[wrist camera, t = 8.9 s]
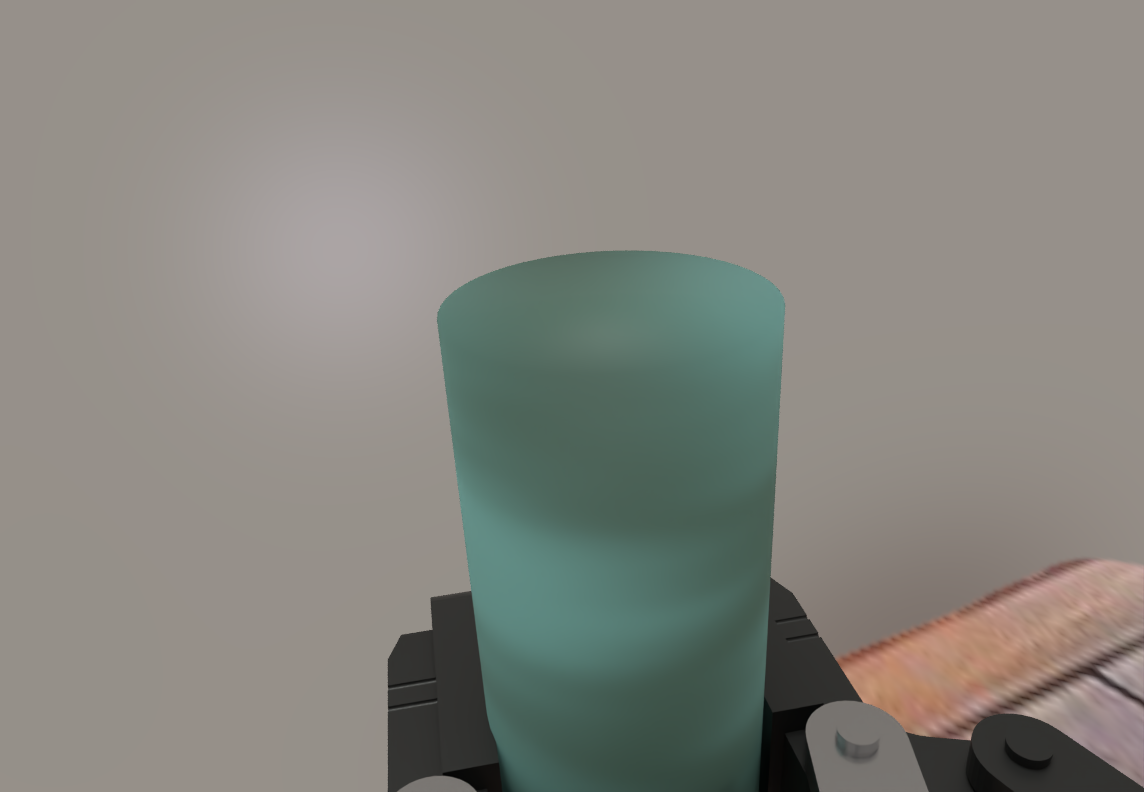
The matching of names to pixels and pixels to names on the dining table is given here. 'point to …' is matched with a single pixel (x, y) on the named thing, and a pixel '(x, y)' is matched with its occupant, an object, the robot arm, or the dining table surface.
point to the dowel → (618, 514)
